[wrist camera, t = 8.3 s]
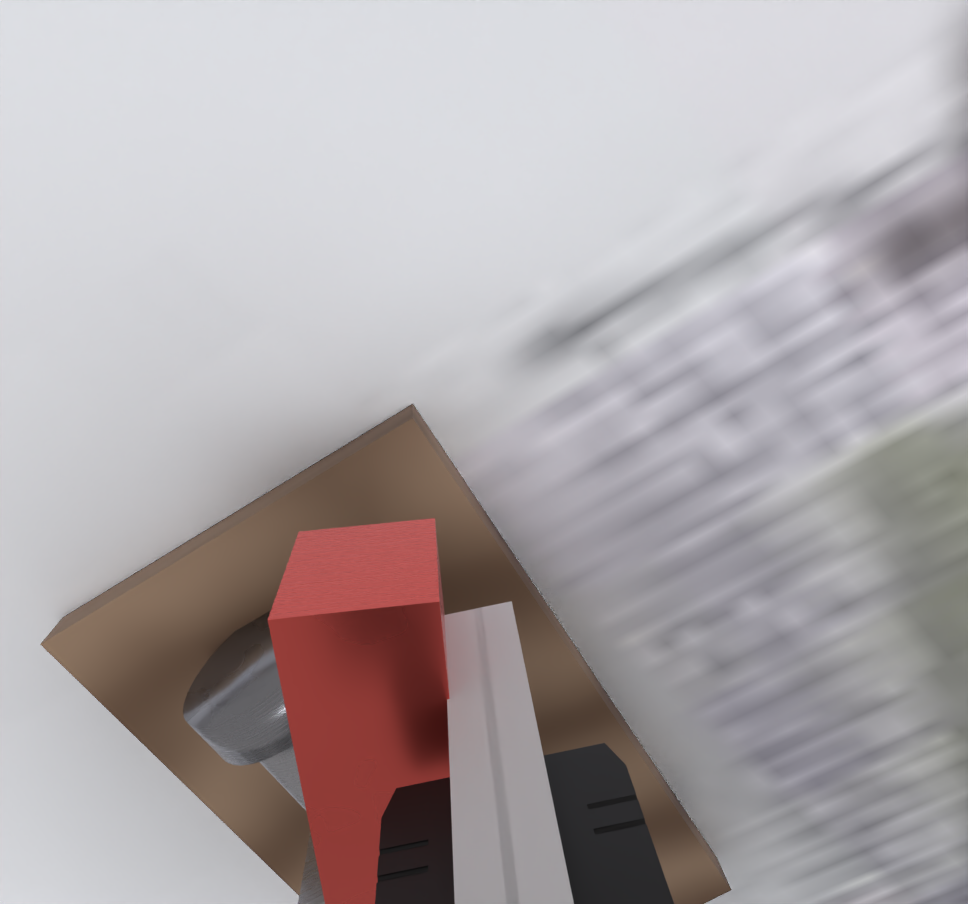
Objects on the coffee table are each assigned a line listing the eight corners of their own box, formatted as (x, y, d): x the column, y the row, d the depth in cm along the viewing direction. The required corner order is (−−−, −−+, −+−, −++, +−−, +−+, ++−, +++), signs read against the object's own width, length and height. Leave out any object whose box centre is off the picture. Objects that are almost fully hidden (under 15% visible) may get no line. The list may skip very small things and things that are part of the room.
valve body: (605, 879, 29) (671, 1120, 21) (488, 939, 30) (512, 1194, 22) (354, 553, 23) (323, 728, 15) (213, 636, 24) (117, 844, 16)
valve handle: (460, 515, 14) (471, 598, 11) (507, 1049, 19) (522, 1195, 16) (272, 534, 13) (233, 623, 11) (373, 1069, 19) (366, 1220, 16)
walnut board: (716, 858, 30) (731, 889, 29) (440, 997, 32) (441, 1034, 31) (413, 404, 22) (412, 417, 21) (62, 617, 24) (40, 644, 22)
